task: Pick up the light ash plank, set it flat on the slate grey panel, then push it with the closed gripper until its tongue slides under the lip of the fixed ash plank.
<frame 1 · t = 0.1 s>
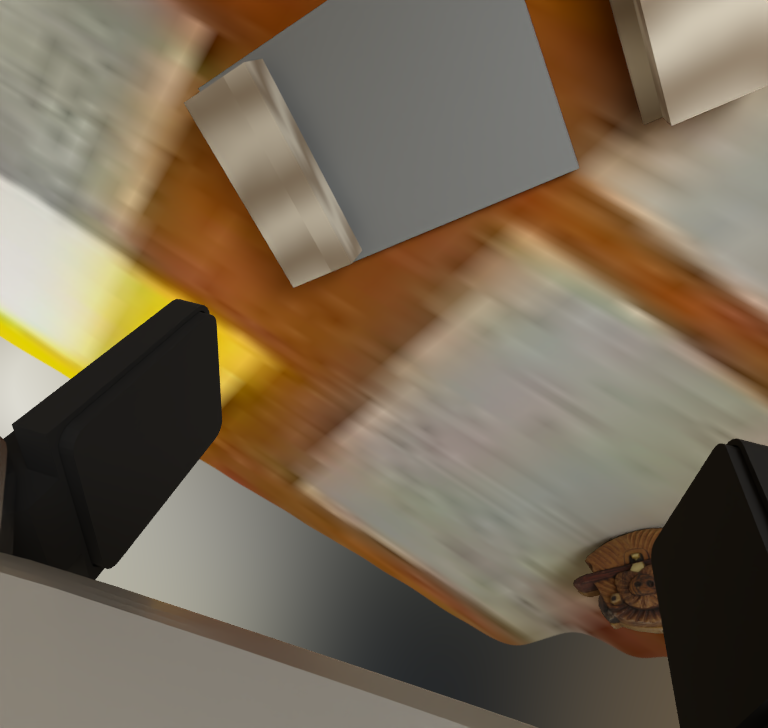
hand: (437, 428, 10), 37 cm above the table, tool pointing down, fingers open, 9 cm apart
fixed plank: (298, 169, 47), resting on floor panel
wooden carving: (646, 534, 59), on the table
floor panel: (382, 124, 43), on the table
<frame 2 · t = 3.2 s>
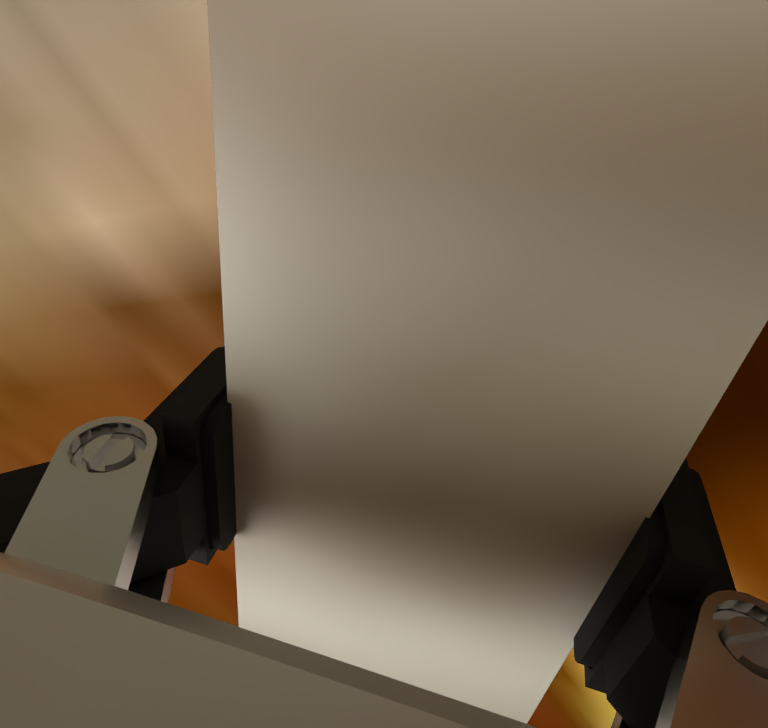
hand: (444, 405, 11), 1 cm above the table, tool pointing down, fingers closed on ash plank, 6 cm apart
ash plank: (453, 374, 12), on the table, touching gripper
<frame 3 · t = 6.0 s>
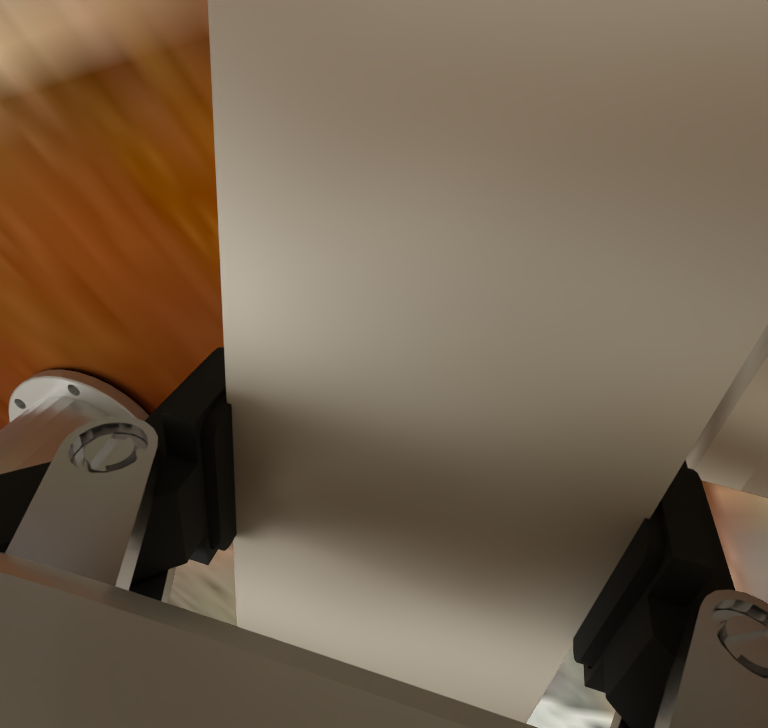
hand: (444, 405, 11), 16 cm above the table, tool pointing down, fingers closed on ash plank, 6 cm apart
ash plank: (453, 370, 12), point 14 cm above the table, touching gripper
when the fingers open (4 cm above the table, at t = 8.8 s): ash plank drops 1 cm, resting on floor panel.
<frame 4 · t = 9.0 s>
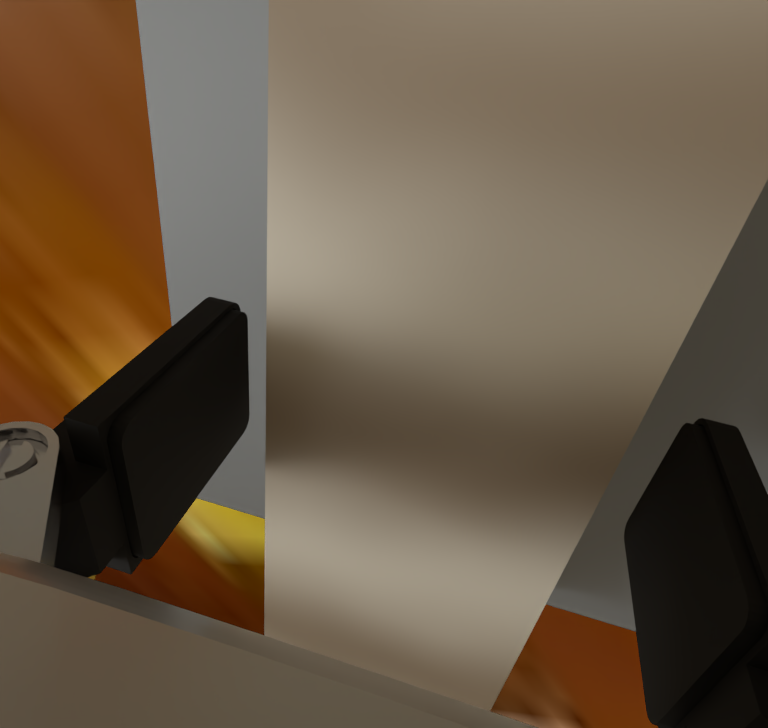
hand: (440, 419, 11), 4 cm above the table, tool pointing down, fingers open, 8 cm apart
ash plank: (459, 338, 13), point 1 cm above the table, touching floor panel
floor panel: (648, 359, 13), on the table
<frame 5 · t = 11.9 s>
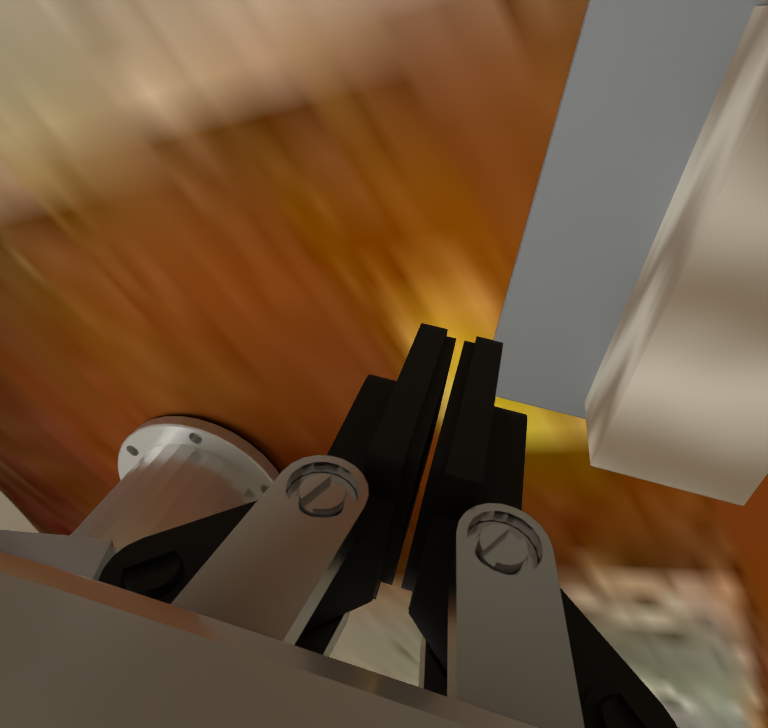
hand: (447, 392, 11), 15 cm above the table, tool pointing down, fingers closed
ash plank: (731, 261, 21), point 1 cm above the table, touching floor panel
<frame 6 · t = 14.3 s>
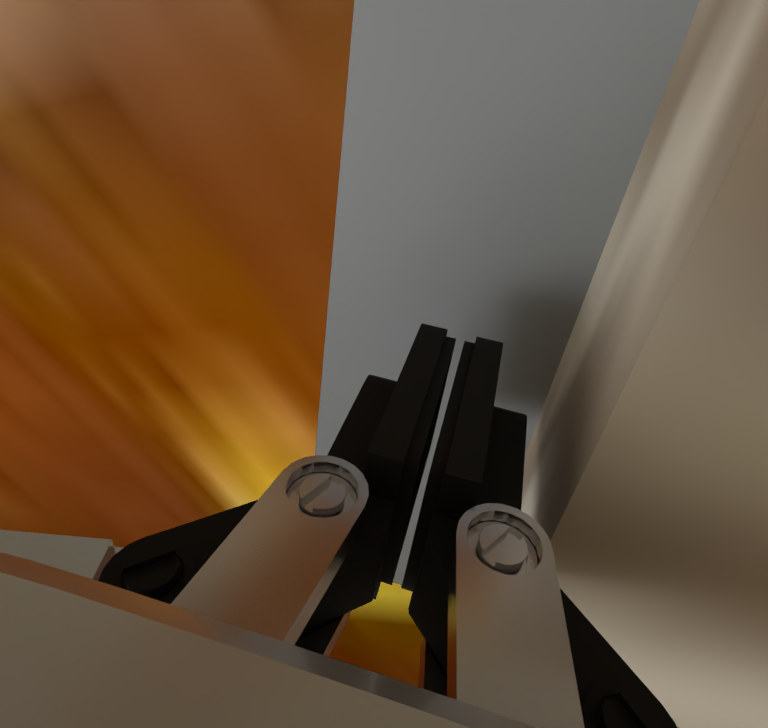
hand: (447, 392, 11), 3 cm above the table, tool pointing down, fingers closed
ash plank: (687, 418, 12), point 1 cm above the table, touching floor panel, gripper
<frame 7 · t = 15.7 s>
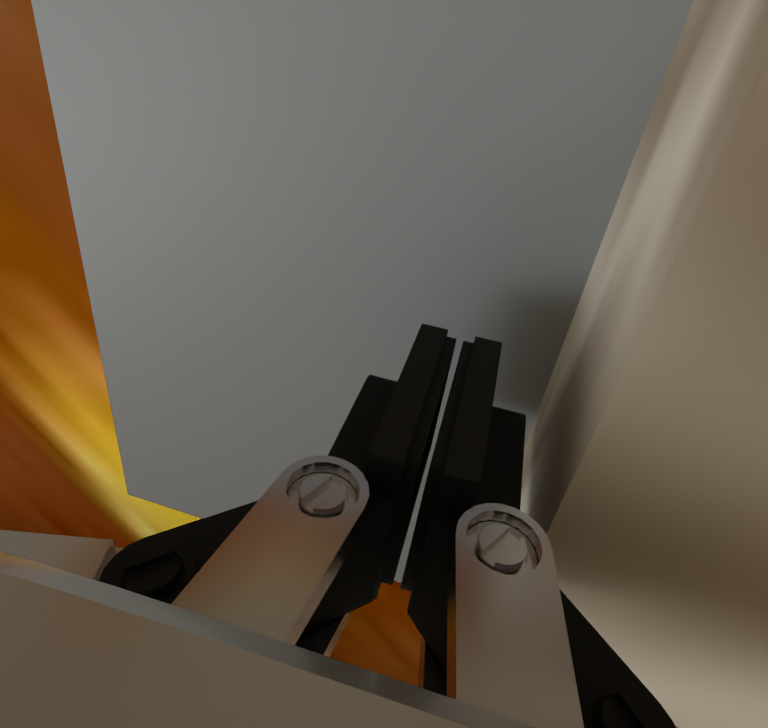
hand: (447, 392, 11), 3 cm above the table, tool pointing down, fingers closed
ash plank: (686, 416, 12), point 1 cm above the table, touching fixed plank, floor panel, gripper
floor panel: (573, 362, 13), on the table
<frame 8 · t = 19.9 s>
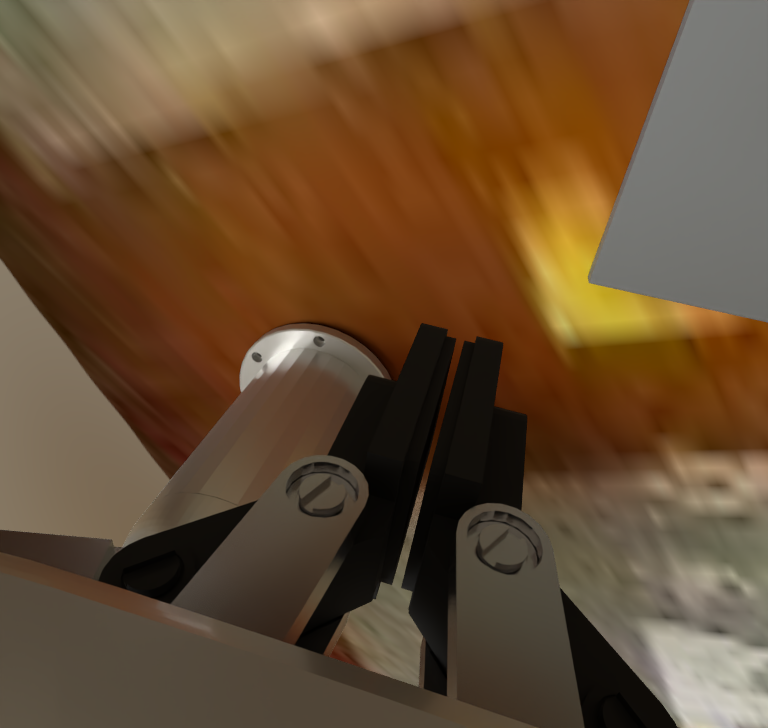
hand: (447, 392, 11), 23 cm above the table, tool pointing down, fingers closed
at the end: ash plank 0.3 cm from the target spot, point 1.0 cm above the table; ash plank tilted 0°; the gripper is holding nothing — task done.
